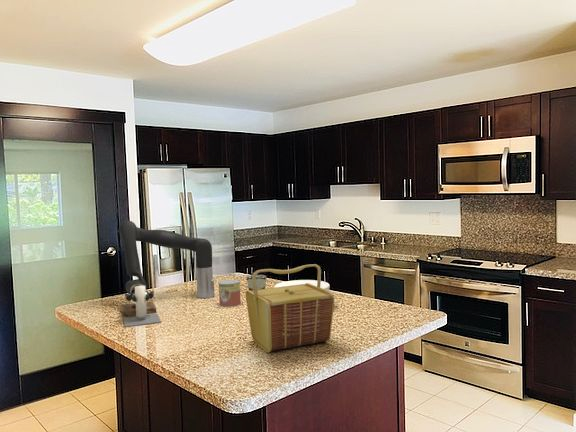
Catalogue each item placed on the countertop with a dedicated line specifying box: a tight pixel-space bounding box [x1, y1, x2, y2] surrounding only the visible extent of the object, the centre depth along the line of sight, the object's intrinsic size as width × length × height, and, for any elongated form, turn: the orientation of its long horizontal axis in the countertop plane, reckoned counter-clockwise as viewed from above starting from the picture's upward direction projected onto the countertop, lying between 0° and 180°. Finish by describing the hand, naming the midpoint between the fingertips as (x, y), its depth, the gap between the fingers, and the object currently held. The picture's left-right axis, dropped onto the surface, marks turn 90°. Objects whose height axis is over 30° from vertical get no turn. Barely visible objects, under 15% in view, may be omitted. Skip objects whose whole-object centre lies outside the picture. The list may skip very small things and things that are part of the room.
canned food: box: [218, 279, 242, 308], centre depth 252 cm, size 11×11×12 cm
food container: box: [245, 274, 268, 291], centre depth 279 cm, size 12×6×10 cm, turn 84°
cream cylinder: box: [135, 285, 148, 317], centre depth 225 cm, size 5×5×14 cm
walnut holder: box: [120, 300, 157, 318], centre depth 244 cm, size 16×16×2 cm
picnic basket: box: [245, 263, 335, 353], centre depth 186 cm, size 29×26×30 cm
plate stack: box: [273, 279, 331, 292], centre depth 241 cm, size 28×28×12 cm
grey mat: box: [123, 313, 162, 328], centre depth 225 cm, size 16×16×1 cm
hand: (141, 299), depth 222 cm, fingers closed on cream cylinder, 4 cm apart
